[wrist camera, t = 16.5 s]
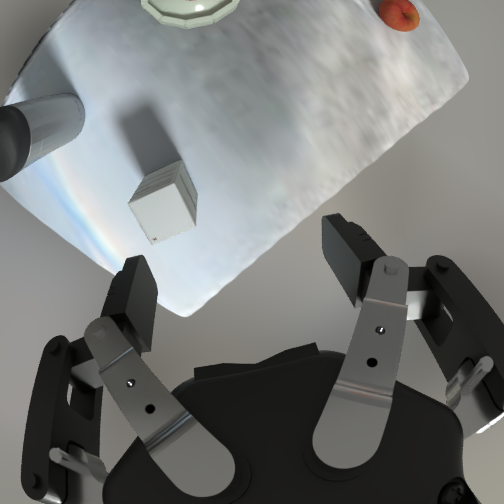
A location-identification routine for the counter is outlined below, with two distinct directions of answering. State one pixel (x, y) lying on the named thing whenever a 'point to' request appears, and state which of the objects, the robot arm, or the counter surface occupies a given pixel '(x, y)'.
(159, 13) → the round tray
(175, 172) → the supplement box
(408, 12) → the apple
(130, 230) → the counter surface
